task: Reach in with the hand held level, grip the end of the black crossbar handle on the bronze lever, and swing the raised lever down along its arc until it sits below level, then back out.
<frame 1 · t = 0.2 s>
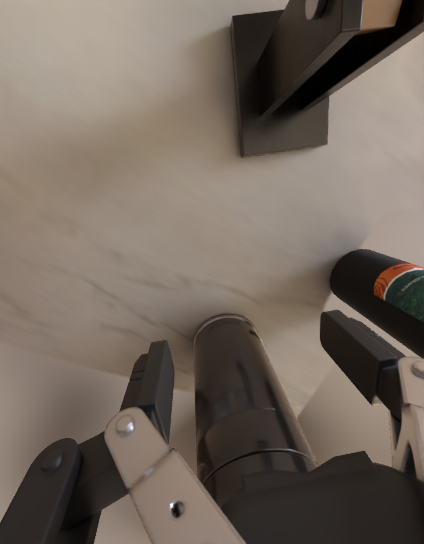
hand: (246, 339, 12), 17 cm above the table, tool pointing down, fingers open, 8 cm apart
wine bottle: (355, 275, 31), on the table
bracket: (280, 91, 23), on the table
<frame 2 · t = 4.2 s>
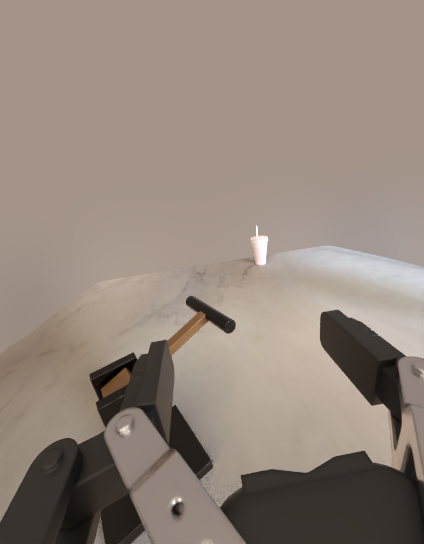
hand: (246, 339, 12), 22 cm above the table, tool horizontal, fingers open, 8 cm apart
lever: (166, 350, 23), point 14 cm above the table, hinge at 20.0°
bracket: (152, 467, 26), on the table
smoothie: (260, 263, 84), on the table
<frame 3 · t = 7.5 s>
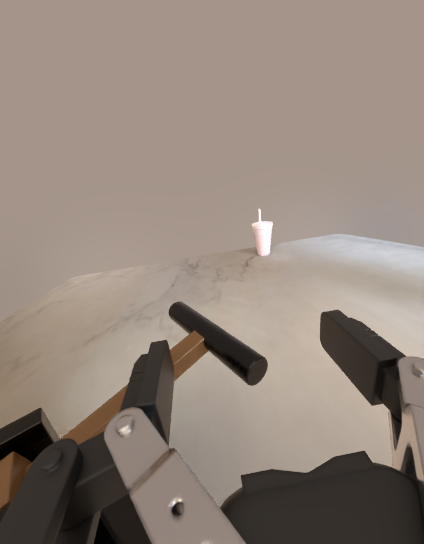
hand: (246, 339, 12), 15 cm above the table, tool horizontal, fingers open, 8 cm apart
lever: (117, 411, 11), point 13 cm above the table, hinge at 13.3°
smoothie: (263, 254, 71), on the table
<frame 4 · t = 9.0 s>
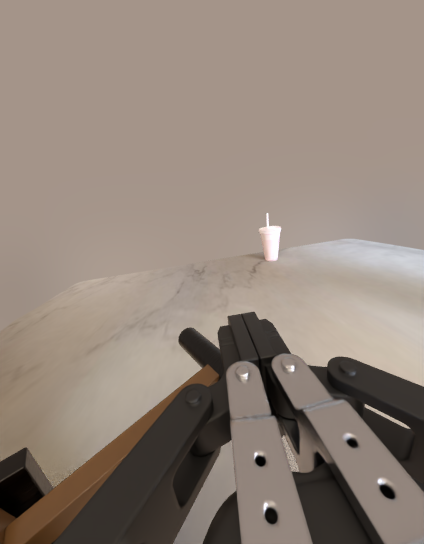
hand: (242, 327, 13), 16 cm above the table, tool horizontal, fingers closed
lever: (117, 459, 10), point 13 cm above the table, hinge at 9.2°, touching gripper
smoothie: (271, 259, 69), on the table
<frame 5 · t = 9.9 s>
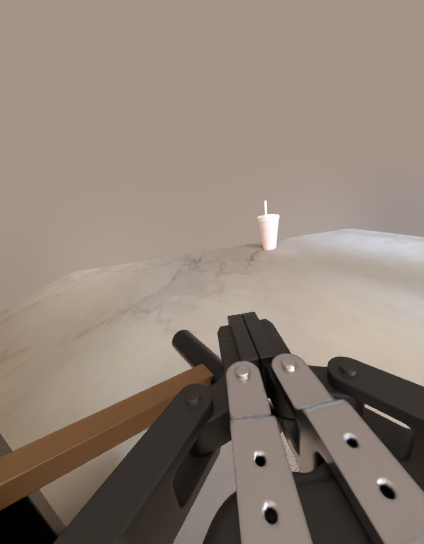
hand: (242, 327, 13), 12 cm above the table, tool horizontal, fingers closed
lever: (92, 435, 9), point 11 cm above the table, hinge at -8.6°, touching gripper
smoothie: (269, 248, 68), on the table
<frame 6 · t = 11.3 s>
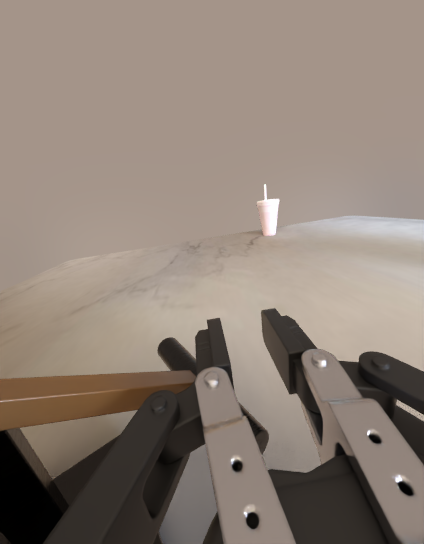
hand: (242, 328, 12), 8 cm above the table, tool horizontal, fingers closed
lever: (66, 397, 8), point 9 cm above the table, hinge at -32.2°, touching gripper
smoothie: (269, 234, 67), on the table
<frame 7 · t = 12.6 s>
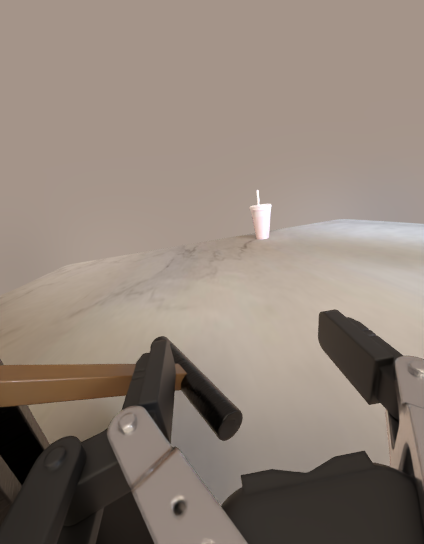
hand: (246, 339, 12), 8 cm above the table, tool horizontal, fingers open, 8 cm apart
lever: (71, 381, 10), point 9 cm above the table, hinge at -33.0°, touching gripper
smoothie: (262, 238, 69), on the table
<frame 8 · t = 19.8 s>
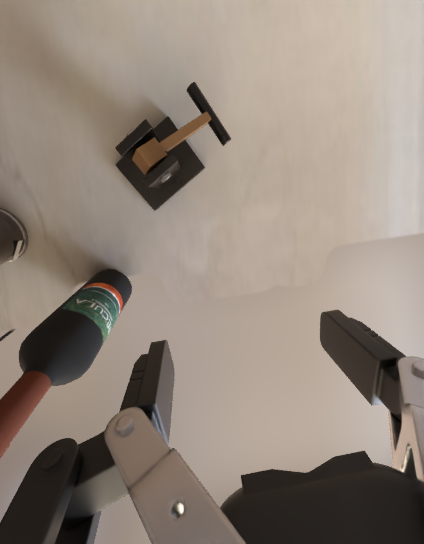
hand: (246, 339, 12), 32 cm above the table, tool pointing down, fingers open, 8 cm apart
lever: (180, 135, 28), point 9 cm above the table, hinge at -32.6°
wine bottle: (112, 287, 44), on the table
bracket: (161, 167, 37), on the table
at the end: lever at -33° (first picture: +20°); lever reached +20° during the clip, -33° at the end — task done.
